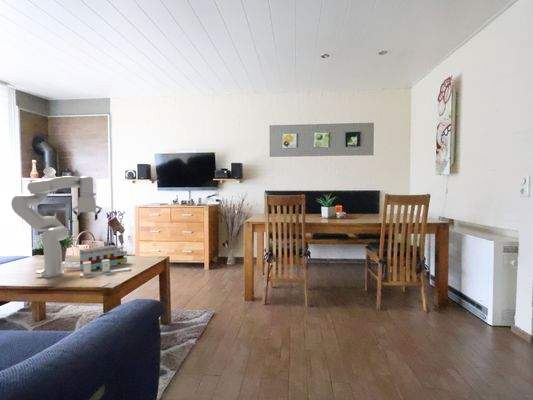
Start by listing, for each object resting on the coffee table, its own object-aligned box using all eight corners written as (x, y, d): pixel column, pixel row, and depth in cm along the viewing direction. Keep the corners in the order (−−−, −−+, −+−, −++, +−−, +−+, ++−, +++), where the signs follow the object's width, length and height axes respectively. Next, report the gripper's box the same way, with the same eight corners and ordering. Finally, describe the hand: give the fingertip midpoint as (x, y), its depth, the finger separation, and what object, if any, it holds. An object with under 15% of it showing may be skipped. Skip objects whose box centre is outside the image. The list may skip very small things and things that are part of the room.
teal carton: (102, 273, 202) (102, 261, 202) (101, 271, 208) (101, 259, 208) (110, 272, 205) (109, 261, 204) (109, 270, 210) (108, 259, 210)
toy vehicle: (127, 264, 233) (127, 244, 233) (85, 272, 209) (84, 251, 209) (122, 262, 238) (122, 243, 238) (80, 270, 214) (79, 249, 214)
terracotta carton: (83, 276, 196) (82, 264, 196) (83, 274, 202) (82, 262, 202) (91, 275, 199) (91, 263, 199) (90, 273, 204) (90, 261, 204)
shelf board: (80, 279, 193) (80, 276, 193) (79, 275, 203) (79, 272, 203) (131, 272, 209) (131, 269, 209) (128, 268, 219) (128, 266, 218)
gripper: (101, 195, 210) (101, 219, 210) (71, 195, 201) (72, 221, 201) (102, 195, 203) (102, 220, 204) (71, 195, 194) (72, 222, 195)
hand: (87, 220), depth 203 cm, fingers open, 9 cm apart
